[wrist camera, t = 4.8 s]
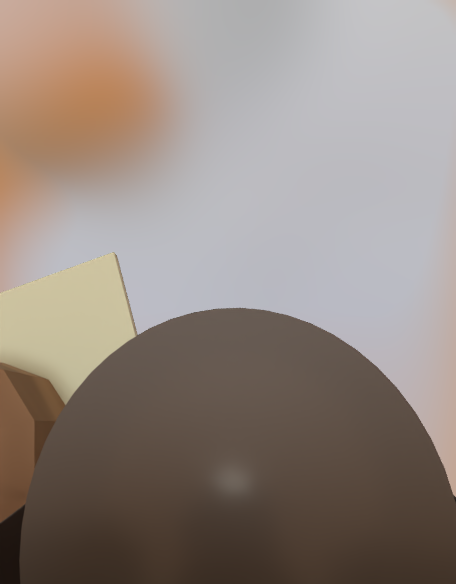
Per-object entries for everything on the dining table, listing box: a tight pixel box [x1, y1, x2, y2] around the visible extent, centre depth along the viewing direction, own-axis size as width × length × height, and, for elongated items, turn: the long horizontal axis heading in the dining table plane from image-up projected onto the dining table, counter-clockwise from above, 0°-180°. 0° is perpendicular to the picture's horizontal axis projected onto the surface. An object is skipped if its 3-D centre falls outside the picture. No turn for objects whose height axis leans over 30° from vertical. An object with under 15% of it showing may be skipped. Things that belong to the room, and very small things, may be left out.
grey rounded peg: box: [19, 308, 456, 584], centre depth 9 cm, size 3×3×13 cm
